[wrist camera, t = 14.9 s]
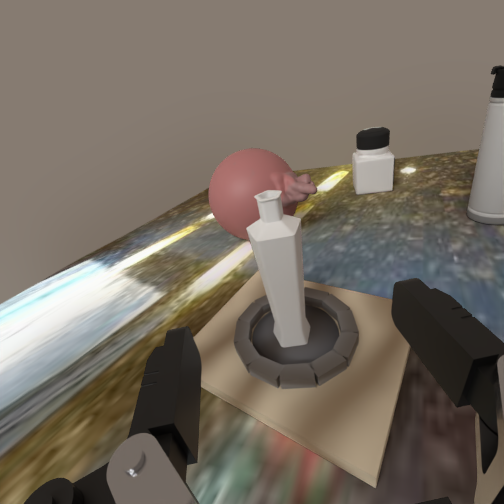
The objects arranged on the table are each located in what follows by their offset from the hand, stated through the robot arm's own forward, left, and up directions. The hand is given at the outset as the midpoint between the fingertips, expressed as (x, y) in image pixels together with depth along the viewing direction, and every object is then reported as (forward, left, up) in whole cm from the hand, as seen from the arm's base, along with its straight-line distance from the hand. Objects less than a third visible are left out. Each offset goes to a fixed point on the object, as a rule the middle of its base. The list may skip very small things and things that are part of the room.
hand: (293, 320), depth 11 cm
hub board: (-7, +10, -16) cm, 20 cm away
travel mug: (+9, +44, -16) cm, 48 cm away
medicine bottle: (-11, +55, -16) cm, 59 cm away
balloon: (-22, +30, -16) cm, 41 cm away
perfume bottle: (-7, +10, -15) cm, 19 cm away
